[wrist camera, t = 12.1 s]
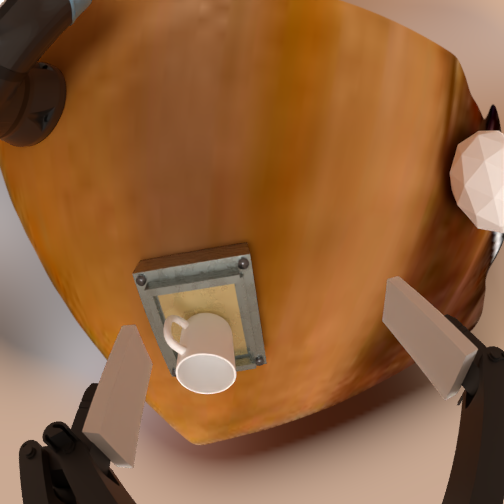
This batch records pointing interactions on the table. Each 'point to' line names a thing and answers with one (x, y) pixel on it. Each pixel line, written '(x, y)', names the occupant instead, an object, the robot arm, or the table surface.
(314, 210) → the table surface
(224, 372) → the cup
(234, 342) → the silver and gold block
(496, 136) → the geometric sphere
